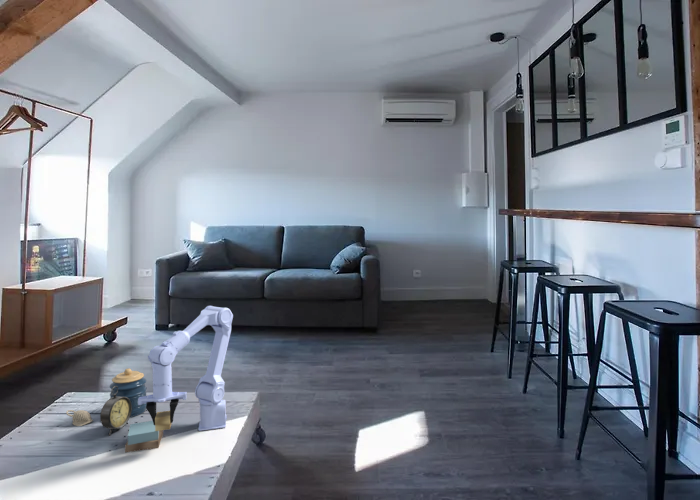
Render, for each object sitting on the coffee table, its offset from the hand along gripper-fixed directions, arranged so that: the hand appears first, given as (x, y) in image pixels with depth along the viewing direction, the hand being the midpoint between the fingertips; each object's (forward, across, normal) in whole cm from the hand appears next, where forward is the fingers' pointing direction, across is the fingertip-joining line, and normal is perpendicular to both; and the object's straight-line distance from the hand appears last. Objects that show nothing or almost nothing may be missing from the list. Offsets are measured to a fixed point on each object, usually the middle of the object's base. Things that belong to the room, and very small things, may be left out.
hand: (163, 422), depth 135 cm
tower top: (+7, -7, +6) cm, 12 cm away
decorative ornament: (+9, -33, +29) cm, 45 cm away
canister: (+9, -18, +35) cm, 40 cm away
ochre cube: (+2, 0, 0) cm, 2 cm away
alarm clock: (+9, -19, +20) cm, 29 cm away
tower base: (+10, -7, +6) cm, 13 cm away
